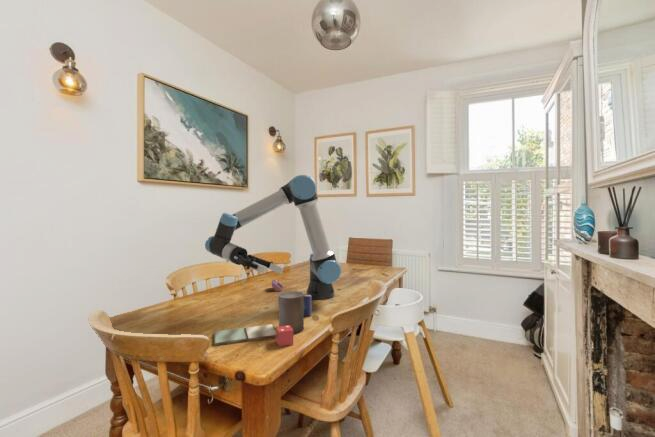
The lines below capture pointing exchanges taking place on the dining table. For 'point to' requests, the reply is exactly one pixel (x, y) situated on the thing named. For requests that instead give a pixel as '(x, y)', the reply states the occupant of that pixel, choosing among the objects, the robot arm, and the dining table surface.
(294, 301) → the pillar candle
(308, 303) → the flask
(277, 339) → the red die
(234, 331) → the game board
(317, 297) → the robot arm
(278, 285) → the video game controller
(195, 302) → the dining table surface
